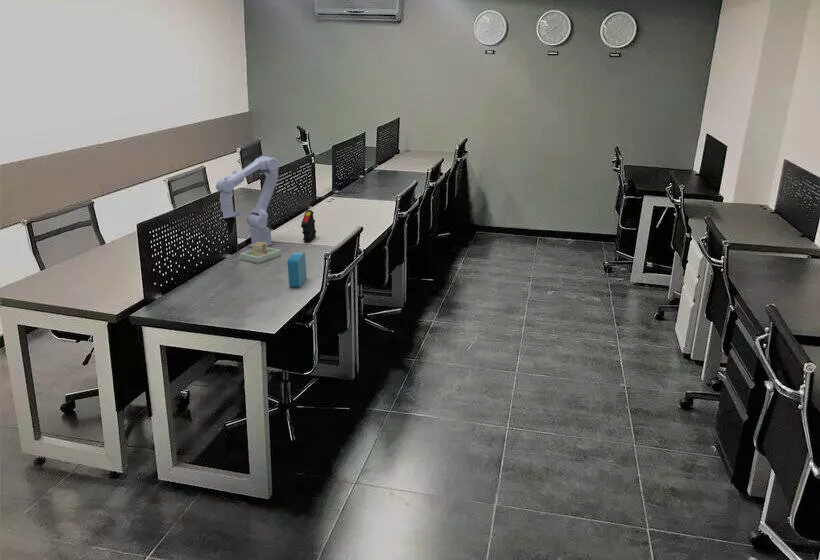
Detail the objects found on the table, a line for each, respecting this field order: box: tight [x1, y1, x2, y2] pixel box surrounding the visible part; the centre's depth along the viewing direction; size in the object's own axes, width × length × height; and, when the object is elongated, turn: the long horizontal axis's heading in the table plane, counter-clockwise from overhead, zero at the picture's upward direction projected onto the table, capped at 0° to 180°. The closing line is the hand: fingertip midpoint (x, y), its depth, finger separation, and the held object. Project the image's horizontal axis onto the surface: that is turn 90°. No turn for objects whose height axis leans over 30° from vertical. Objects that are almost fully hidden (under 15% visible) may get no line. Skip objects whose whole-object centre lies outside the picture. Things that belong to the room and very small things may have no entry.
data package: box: [287, 251, 307, 288], centre depth 273 cm, size 12×4×12 cm, turn 175°
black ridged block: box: [300, 209, 317, 244], centre depth 334 cm, size 4×13×15 cm, turn 172°
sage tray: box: [239, 246, 282, 265], centre depth 308 cm, size 14×12×3 cm
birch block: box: [251, 242, 268, 257], centre depth 308 cm, size 5×5×6 cm
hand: (229, 233), depth 315 cm, fingers closed
